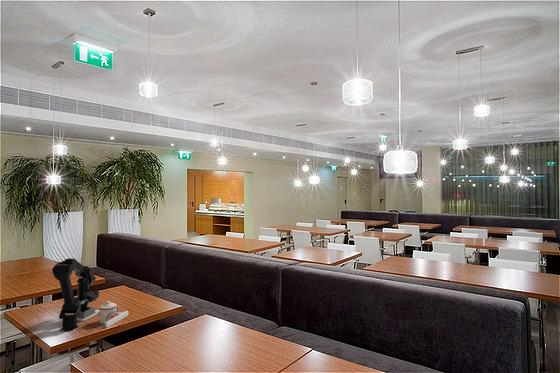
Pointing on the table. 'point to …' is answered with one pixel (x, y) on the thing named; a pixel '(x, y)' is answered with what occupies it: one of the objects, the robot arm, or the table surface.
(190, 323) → the table surface
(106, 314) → the teacup with lid
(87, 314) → the grey open storage bin
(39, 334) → the table surface
